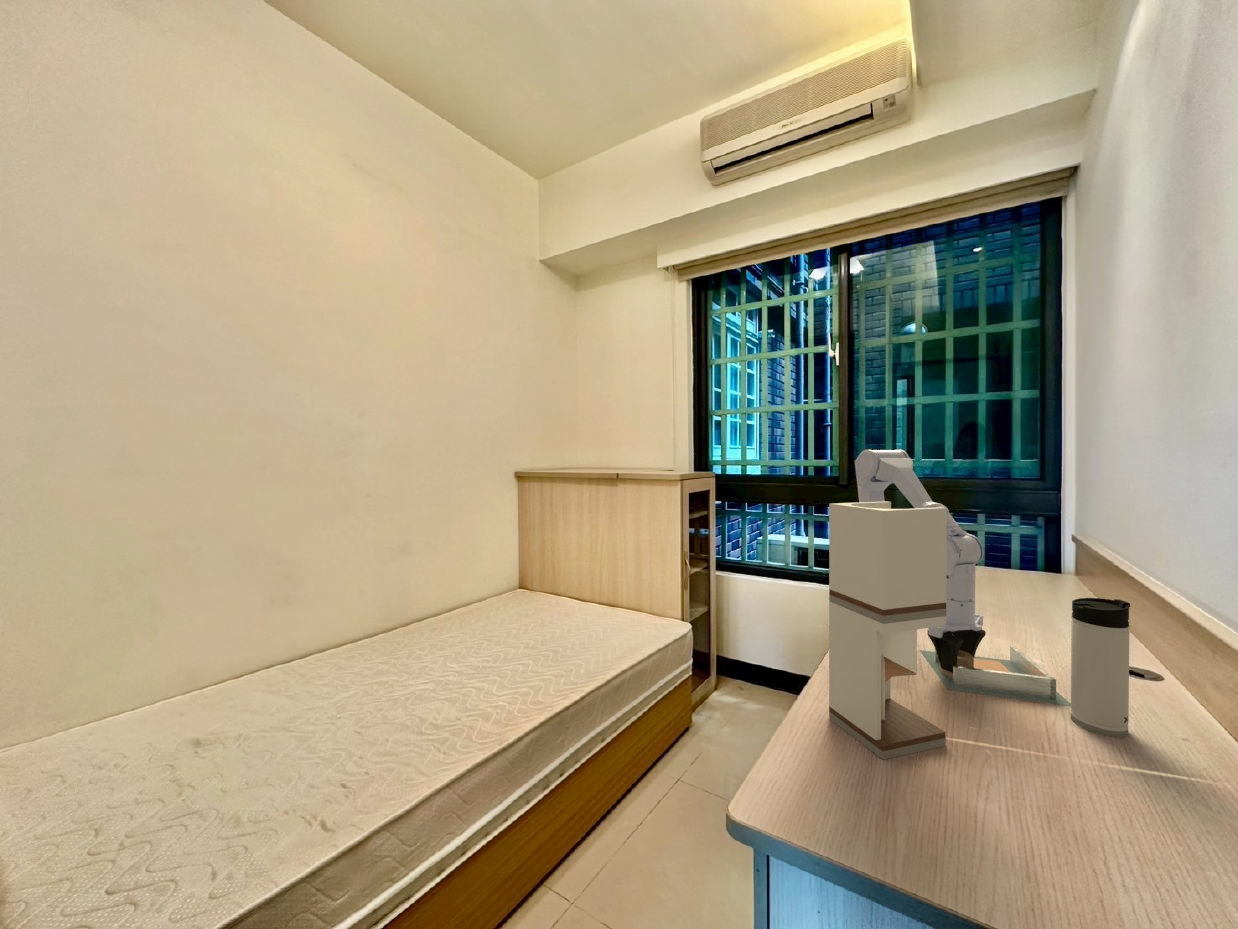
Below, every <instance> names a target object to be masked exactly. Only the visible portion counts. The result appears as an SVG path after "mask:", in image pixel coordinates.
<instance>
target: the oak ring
mask: <svg viewBox="0 0 1238 929" xmlns="http://www.w3.org/2000/svg"><path fill="white" fill-rule="evenodd" d="M956 666H961V667H969V668H974V657H973V656H972V655H971V654H970V653H968V652H965V651H962V650H959V652H958V656H957V664H956ZM939 670H940V671H941V673H942V674H943V675H946V676H948V677H951V678H953V673H952V672H949V671H946V670H944V669H941V666H940V662H939Z"/></svg>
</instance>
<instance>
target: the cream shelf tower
mask: <svg viewBox="0 0 1238 929" xmlns="http://www.w3.org/2000/svg"><path fill="white" fill-rule="evenodd" d="M947 509H948V507H947V508H942V507H938V508H892V501H887V500H886V501H885V502H838V503H835V502H834V503H829V509H828V511H829V513H828V514H829V515H828V518H829V520H828V522H829V527H828V528H829V530H828V531H829V532H828V533H829V534H828V538H829V539H828V542H829V543H828V548H829V549H828V550H829V556H828V559H829V561H828V563H829V564H828V565H829V568H828V570H829V571H828V572H829V573H828V574H829V575H828V576H829V577H828V578H829V579H828V580H829V581H828V582H829V583H828V585H829V586H828V588H829V589H828V593H829V594H828V595H829V598H828V601H829V602H828V603H829V604H828V606H829V607H828V608H829V610H828V611H829V612H828V613H829V614H828V615H829V616H828V621H829V622H828V623H829V625H828V628H829V631H828V632H829V635H828V651H829V652H828V657H829V658H828V660H829V661H828V665H829V666H828V668H829V669H828V672H829V673H828V674H829V675H828V676H829V677H828V691H829V692H828V706H829V707H828V719H829V718H830V719H831V720H830V719H829V720H830V721H831V722H833V721H834V722H835V723H834V722H833V723H834V724H836V726H838V727H839V726H840V729H842V730H843V729H844V730H843V731H844V732H846V731H847V732H848V733H847V732H846V733H847V734H849V735H850V736H851V737H852V736H853V738H854V739H855V740H857V742H859V741H860V742H861V743H862V744H861V743H860V742H859V743H860V744H861V745H863V746H864V747H865V746H866V749H867V750H870V751H871V752H872V753H873V752H874V753H875V754H874V753H873V754H874V755H876V756H877V757H879V758H880V759H881V760H883V759H884V760H888V758H889V759H891V758H897V757H901V756H905V755H906V756H907V755H910V754H915V753H919V752H924V751H928V750H929V751H930V750H933V749H937V748H943V747H946V744H947V743H946V740H947V739H946V738H947V734H946V733H947V732H946V731H944V730H943V729H942V728H940V727H938V726H937V725H935V724H933V723H932V722H930V721H928V720H927V719H925V718H923V717H922V716H920V715H918V714H917V713H915V712H913V711H912V710H910V709H908V708H907V707H905V706H904V705H902V704H900V703H898V702H897V701H896V700H894V699H892V698H891V679H892V678H895V677H905V676H916V675H918V670H917V669H918V644H917V643H918V630H921V629H923V630H924V629H929V628H931V627H939V626H946V566H947Z"/></svg>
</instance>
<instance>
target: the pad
mask: <svg viewBox="0 0 1238 929" xmlns="http://www.w3.org/2000/svg"><path fill="white" fill-rule="evenodd" d="M974 668H977V669H986V670H994V671H1002V672H1010V671H1009V670H1008V669H1007V668H1006V667H1005V666H1004V665H1003V664H1002V663H1001V662H999V661H992V660H984V659H975V658H974ZM1010 673H1011V672H1010Z"/></svg>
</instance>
